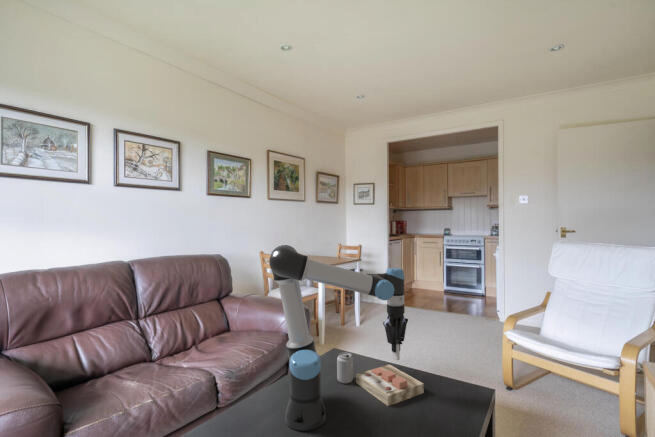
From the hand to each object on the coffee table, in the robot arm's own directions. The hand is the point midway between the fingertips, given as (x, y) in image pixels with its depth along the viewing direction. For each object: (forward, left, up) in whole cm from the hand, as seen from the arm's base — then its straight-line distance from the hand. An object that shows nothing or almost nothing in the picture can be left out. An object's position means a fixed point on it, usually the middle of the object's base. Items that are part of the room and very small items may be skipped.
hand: (396, 358), depth 140 cm
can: (-13, +20, -15) cm, 28 cm away
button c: (0, +12, -13) cm, 17 cm away
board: (0, +5, -14) cm, 15 cm away
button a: (0, -2, -12) cm, 12 cm away
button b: (0, +5, -12) cm, 13 cm away
